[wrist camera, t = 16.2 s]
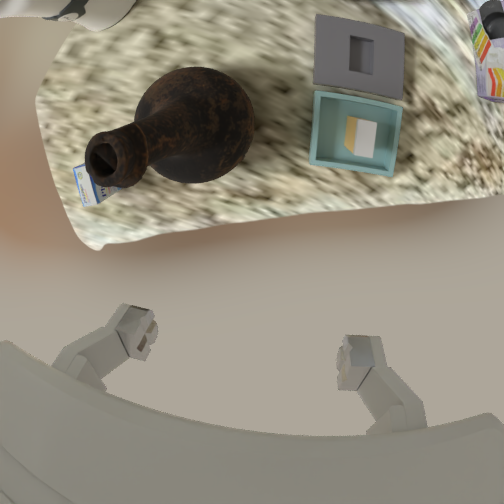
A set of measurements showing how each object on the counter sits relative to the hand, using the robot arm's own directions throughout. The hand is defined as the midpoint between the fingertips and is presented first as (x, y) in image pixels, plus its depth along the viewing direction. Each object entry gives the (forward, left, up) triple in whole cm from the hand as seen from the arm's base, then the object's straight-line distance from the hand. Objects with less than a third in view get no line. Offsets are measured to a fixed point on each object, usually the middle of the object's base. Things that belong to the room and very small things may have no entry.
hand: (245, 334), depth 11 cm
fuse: (-5, +11, -36) cm, 38 cm away
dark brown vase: (-5, -13, -37) cm, 40 cm away
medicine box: (+4, -34, -37) cm, 51 cm away
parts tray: (-5, +11, -37) cm, 39 cm away
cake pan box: (-28, +36, -37) cm, 59 cm away
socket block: (-18, +11, -37) cm, 43 cm away
